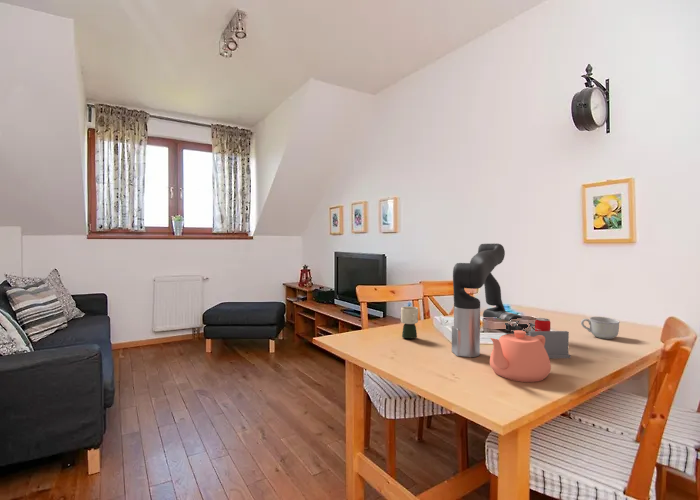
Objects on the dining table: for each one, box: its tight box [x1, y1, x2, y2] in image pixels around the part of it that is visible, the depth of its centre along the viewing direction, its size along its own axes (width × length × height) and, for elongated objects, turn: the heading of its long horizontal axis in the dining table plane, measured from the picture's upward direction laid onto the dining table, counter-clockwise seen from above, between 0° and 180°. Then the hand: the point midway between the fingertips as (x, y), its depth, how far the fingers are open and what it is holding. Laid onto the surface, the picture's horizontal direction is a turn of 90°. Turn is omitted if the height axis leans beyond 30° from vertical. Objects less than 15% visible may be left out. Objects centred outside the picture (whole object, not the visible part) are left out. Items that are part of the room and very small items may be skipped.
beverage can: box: [534, 317, 552, 331], centre depth 142 cm, size 5×5×12 cm
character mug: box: [400, 306, 419, 340], centre depth 160 cm, size 11×7×13 cm, turn 14°
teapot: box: [489, 330, 552, 383], centre depth 117 cm, size 25×17×13 cm
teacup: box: [580, 316, 621, 340], centre depth 163 cm, size 14×11×8 cm
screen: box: [527, 330, 571, 359], centre depth 135 cm, size 14×4×9 cm, turn 94°
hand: (531, 330), depth 149 cm, fingers open, 8 cm apart
